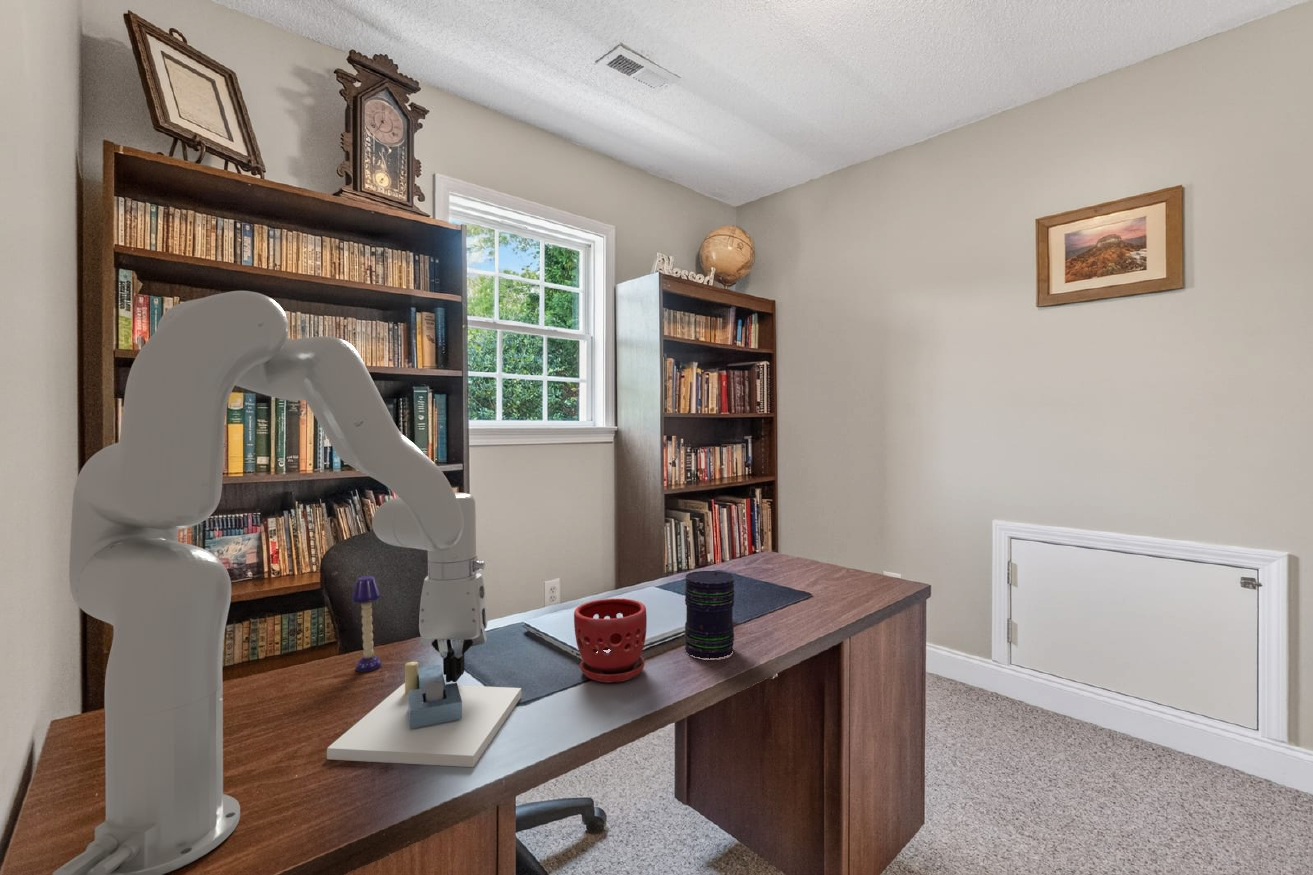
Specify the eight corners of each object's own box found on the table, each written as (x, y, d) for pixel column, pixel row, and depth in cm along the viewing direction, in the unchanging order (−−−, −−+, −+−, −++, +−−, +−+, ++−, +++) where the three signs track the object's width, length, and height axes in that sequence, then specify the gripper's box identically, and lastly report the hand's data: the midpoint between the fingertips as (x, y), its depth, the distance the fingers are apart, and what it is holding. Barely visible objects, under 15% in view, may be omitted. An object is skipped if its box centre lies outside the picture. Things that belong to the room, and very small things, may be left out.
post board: (473, 767, 76) (473, 721, 75) (327, 759, 77) (327, 714, 77) (521, 697, 95) (521, 660, 95) (404, 692, 97) (404, 656, 97)
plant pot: (623, 653, 114) (623, 593, 114) (660, 677, 104) (660, 610, 103) (562, 668, 107) (562, 603, 107) (594, 695, 96) (595, 623, 96)
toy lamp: (359, 675, 104) (359, 581, 104) (347, 668, 107) (347, 577, 106) (385, 666, 108) (385, 576, 107) (373, 660, 110) (373, 572, 110)
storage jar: (720, 665, 109) (721, 585, 109) (675, 654, 114) (675, 578, 114) (741, 648, 118) (742, 574, 117) (698, 639, 123) (699, 568, 123)
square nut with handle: (461, 718, 85) (461, 701, 85) (409, 728, 82) (409, 711, 82) (451, 677, 99) (451, 662, 99) (406, 684, 96) (406, 669, 96)
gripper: (503, 562, 99) (505, 669, 100) (416, 563, 99) (418, 669, 100) (491, 574, 92) (492, 689, 92) (396, 574, 92) (398, 689, 92)
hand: (454, 678), depth 96 cm, fingers closed
